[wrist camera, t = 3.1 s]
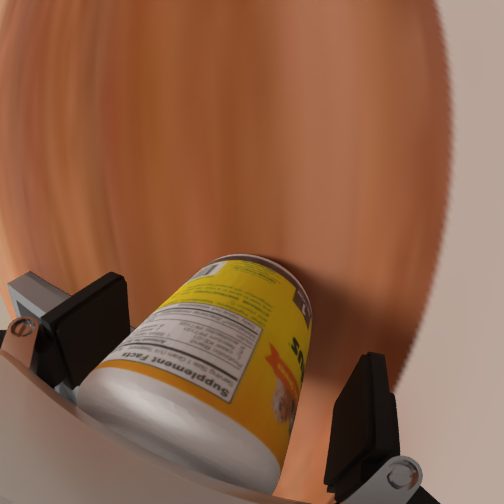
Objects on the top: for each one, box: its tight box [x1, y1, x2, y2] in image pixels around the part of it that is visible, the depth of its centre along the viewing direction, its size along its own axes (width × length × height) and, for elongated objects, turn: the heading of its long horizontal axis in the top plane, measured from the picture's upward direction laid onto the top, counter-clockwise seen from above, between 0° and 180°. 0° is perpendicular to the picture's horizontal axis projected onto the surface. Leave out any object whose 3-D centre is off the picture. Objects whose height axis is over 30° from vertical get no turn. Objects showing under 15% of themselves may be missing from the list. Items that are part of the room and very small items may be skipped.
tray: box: [8, 271, 135, 407], centre depth 18 cm, size 16×14×2 cm
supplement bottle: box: [76, 254, 312, 495], centre depth 8 cm, size 6×6×10 cm
